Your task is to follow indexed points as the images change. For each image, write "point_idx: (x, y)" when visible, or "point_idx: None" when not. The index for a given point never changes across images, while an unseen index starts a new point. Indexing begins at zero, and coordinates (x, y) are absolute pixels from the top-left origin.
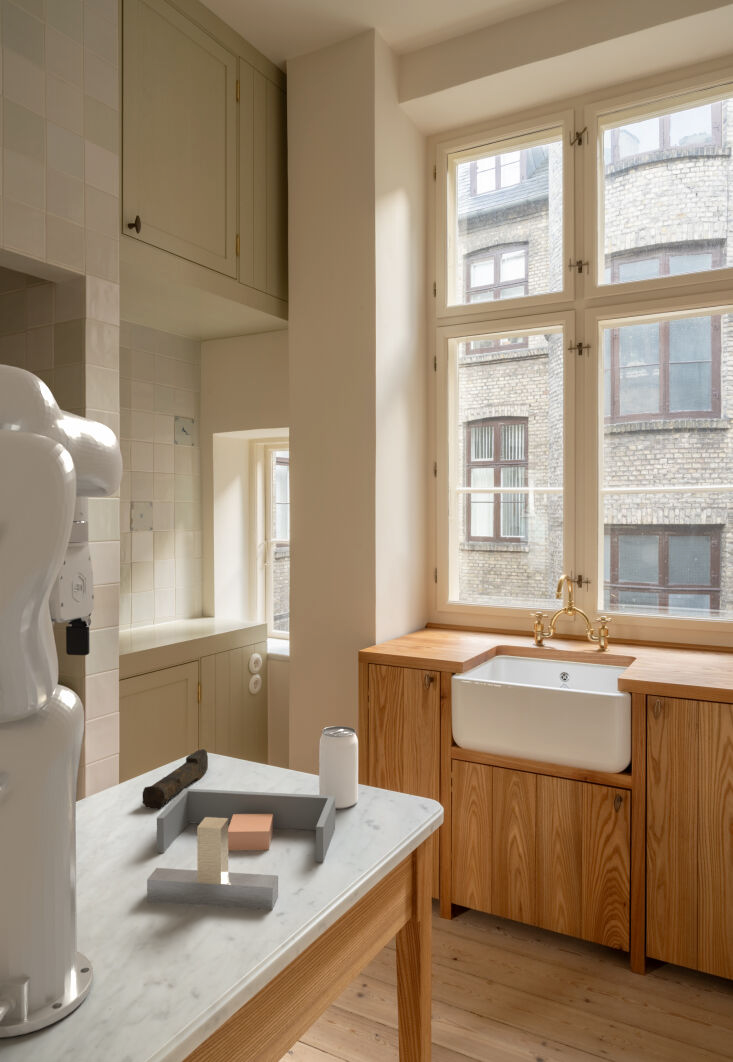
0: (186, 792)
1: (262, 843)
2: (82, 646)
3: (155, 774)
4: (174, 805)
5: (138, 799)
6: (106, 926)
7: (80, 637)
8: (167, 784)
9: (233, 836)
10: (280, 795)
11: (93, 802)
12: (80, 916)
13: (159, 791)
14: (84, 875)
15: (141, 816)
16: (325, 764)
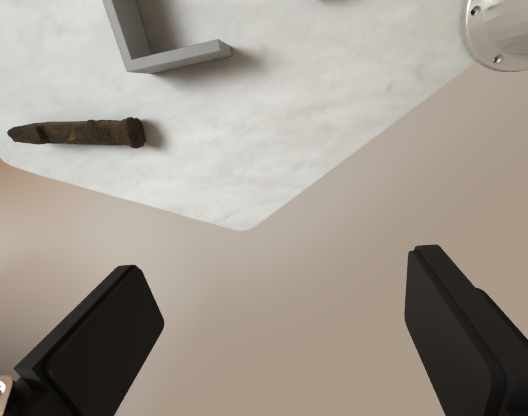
0: (135, 59)
1: None
2: (125, 300)
3: (75, 180)
4: (177, 50)
5: (133, 160)
6: (395, 4)
7: (101, 341)
8: (109, 125)
9: None
10: None
11: (161, 200)
12: (378, 51)
13: (129, 124)
14: (299, 106)
15: (165, 131)
16: None
